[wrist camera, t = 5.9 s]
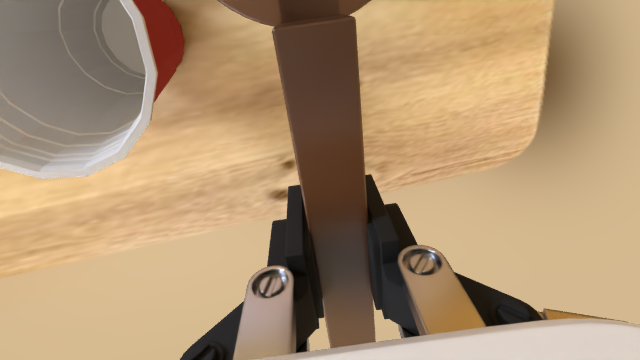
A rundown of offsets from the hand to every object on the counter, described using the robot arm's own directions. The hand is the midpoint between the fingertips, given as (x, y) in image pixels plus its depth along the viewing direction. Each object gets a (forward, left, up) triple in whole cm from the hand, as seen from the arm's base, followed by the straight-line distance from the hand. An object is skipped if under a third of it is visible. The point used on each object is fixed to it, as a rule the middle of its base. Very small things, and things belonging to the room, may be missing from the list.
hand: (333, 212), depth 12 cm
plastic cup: (-11, -8, -15) cm, 20 cm away
